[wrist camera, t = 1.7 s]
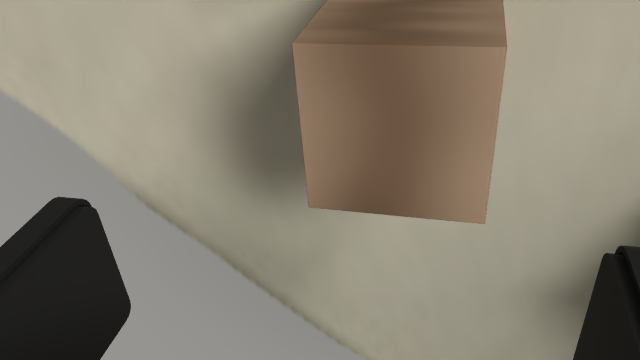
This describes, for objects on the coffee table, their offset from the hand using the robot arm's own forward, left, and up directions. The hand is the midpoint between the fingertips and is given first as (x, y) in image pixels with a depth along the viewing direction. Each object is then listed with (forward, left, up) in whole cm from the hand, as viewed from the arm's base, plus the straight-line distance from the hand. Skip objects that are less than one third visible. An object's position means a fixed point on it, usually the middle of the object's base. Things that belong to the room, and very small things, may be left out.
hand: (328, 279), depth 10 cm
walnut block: (-1, 0, -13) cm, 13 cm away
